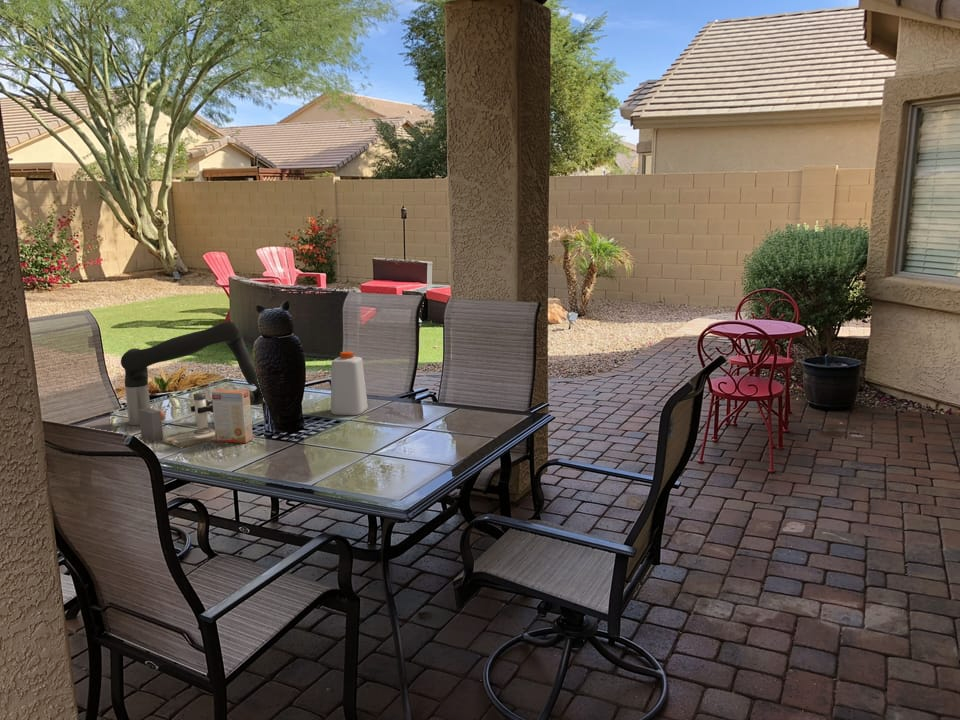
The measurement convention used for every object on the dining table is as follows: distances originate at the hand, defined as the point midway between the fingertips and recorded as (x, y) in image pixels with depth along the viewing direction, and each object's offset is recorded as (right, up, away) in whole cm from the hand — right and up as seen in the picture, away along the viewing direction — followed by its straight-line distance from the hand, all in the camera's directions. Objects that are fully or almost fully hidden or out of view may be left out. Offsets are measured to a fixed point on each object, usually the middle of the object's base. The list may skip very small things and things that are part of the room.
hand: (194, 410), depth 309 cm
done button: (-15, -4, +2) cm, 16 cm away
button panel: (-18, -12, 0) cm, 21 cm away
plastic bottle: (+57, -3, +39) cm, 69 cm away
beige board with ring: (0, -12, -1) cm, 12 cm away
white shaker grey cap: (+2, -7, +4) cm, 8 cm away
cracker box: (+18, -12, -4) cm, 22 cm away
